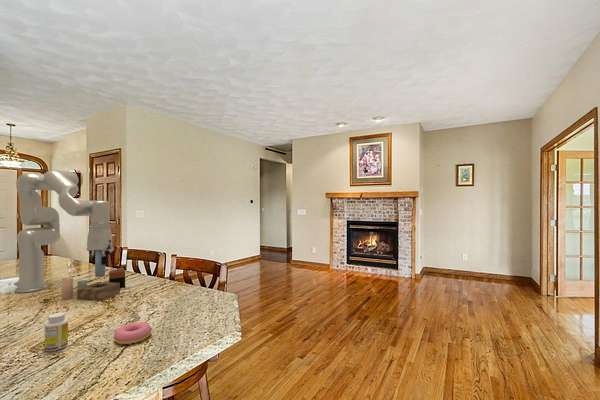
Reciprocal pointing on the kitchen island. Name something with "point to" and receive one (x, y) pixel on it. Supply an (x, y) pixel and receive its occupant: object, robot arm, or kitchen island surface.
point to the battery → (117, 277)
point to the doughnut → (132, 333)
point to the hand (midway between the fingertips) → (100, 263)
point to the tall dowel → (99, 264)
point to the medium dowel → (67, 288)
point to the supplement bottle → (56, 332)
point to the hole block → (98, 291)
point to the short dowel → (81, 283)
